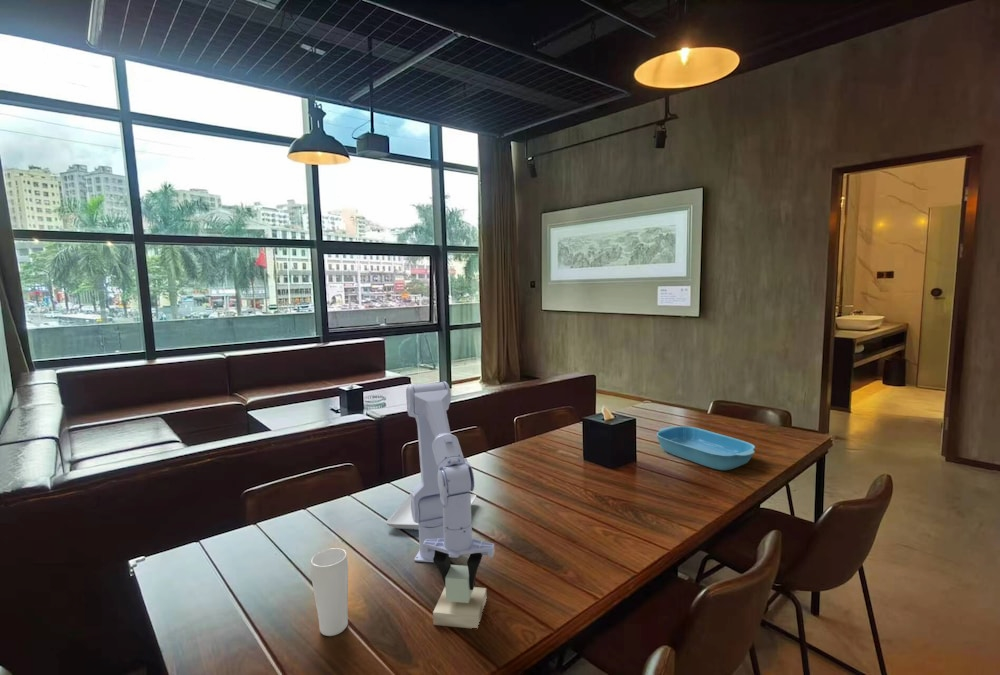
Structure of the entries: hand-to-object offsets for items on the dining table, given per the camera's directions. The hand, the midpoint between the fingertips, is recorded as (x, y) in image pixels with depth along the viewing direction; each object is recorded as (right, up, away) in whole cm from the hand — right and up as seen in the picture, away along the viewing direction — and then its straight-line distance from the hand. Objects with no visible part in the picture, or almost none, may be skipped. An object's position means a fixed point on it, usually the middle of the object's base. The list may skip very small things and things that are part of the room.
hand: (460, 585), depth 98 cm
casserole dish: (+86, +5, +84) cm, 120 cm away
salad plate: (-11, -2, +42) cm, 43 cm away
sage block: (0, -2, 0) cm, 2 cm away
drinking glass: (-25, -7, -3) cm, 26 cm away
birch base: (0, -6, +1) cm, 6 cm away
